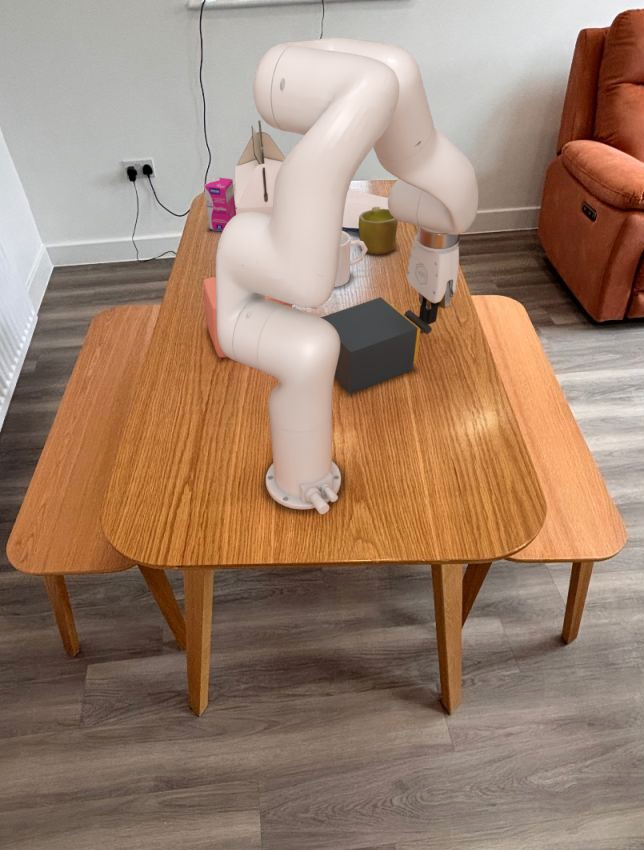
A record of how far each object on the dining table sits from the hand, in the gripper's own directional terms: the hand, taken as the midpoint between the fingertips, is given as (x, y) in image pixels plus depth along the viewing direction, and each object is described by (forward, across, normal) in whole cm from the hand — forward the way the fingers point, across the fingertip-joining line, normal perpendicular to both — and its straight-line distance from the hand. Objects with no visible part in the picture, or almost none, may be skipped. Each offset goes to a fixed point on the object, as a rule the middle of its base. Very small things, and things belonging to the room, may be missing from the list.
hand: (427, 321), depth 129 cm
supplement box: (+6, -69, -16) cm, 71 cm away
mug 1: (+5, -31, -2) cm, 31 cm away
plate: (+6, -56, +17) cm, 59 cm away
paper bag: (+5, -48, -12) cm, 50 cm away
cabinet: (+5, 0, -15) cm, 16 cm away
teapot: (+5, -20, -29) cm, 35 cm away
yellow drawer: (+4, 0, -11) cm, 11 cm away
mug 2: (+6, -40, +14) cm, 43 cm away
